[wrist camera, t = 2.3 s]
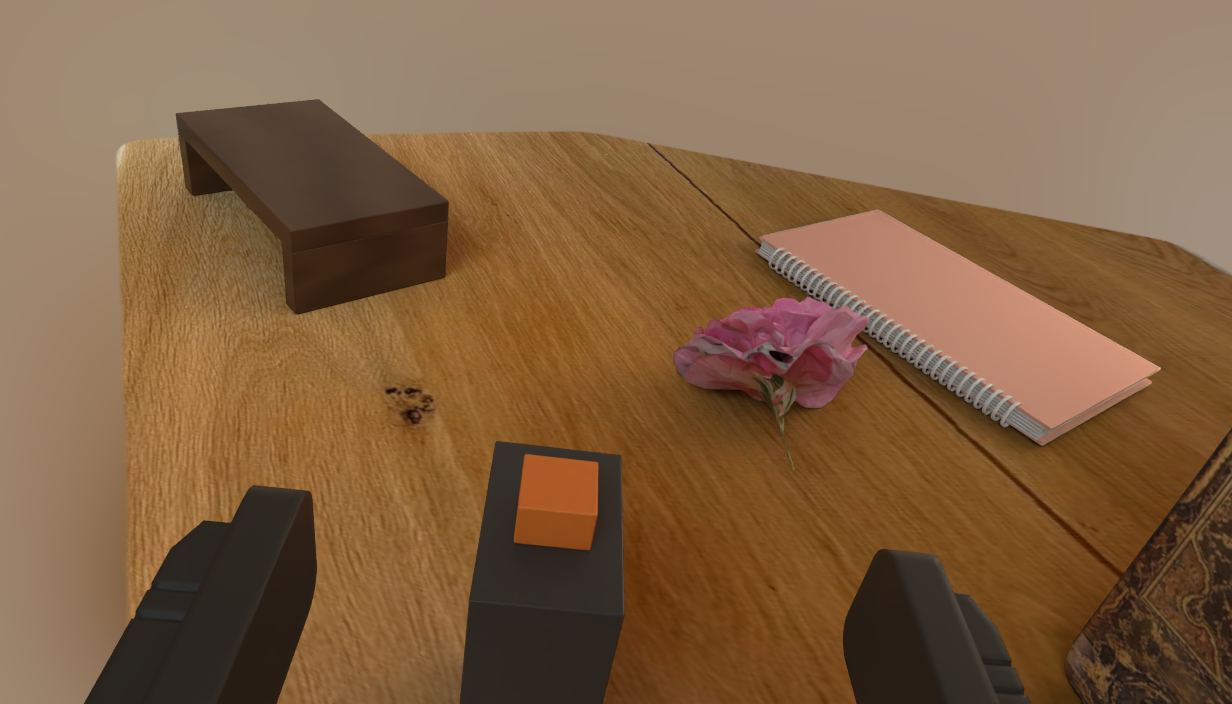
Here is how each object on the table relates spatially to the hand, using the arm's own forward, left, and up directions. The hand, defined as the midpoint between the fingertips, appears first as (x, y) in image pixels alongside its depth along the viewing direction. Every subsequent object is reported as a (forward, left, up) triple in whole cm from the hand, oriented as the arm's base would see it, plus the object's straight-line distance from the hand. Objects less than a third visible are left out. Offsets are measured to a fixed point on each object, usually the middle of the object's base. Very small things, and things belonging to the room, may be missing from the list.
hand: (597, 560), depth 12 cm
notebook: (+38, +43, -23) cm, 62 cm away
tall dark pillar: (+2, +11, -23) cm, 25 cm away
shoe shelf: (-10, +52, -23) cm, 58 cm away
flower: (+19, +32, -23) cm, 44 cm away
